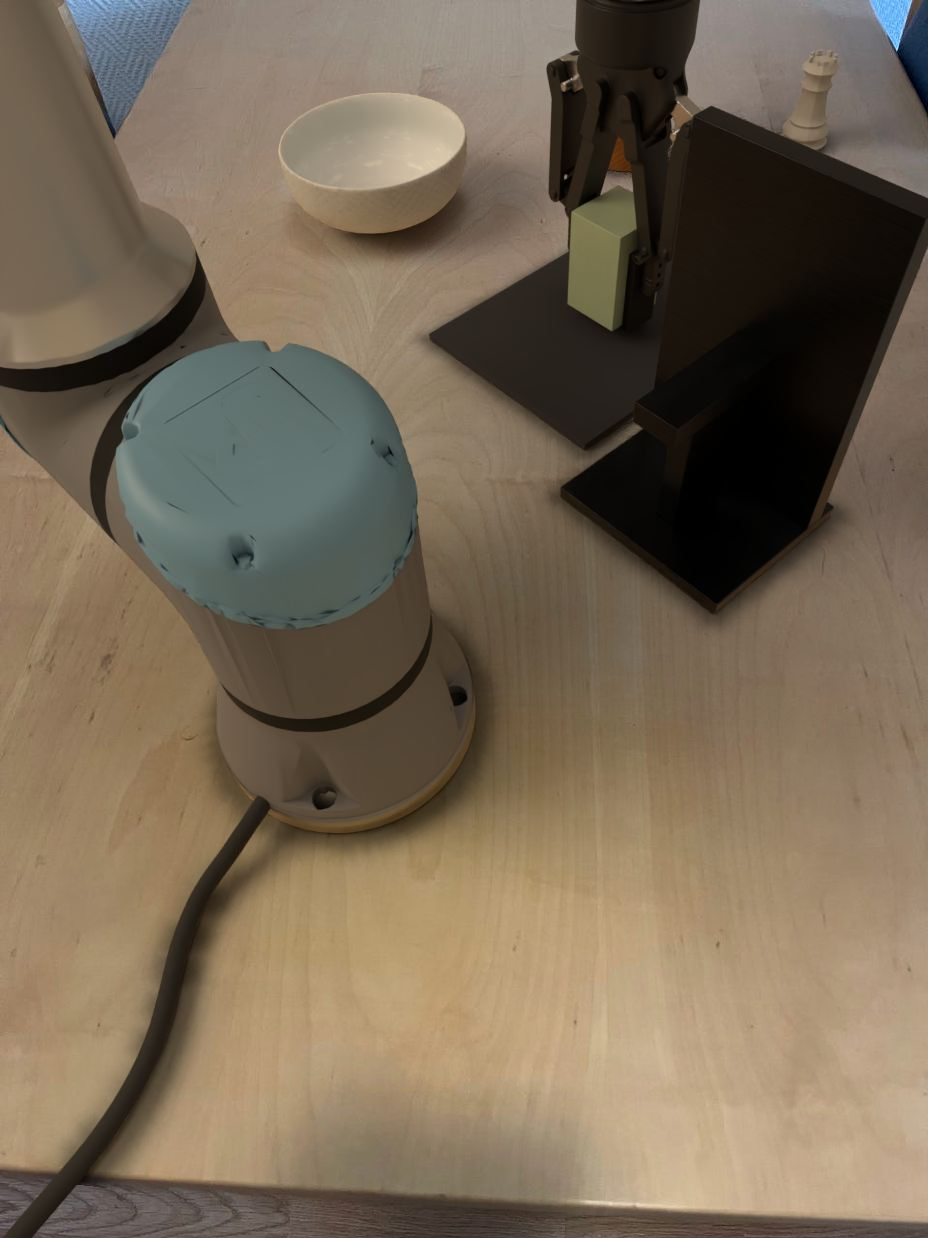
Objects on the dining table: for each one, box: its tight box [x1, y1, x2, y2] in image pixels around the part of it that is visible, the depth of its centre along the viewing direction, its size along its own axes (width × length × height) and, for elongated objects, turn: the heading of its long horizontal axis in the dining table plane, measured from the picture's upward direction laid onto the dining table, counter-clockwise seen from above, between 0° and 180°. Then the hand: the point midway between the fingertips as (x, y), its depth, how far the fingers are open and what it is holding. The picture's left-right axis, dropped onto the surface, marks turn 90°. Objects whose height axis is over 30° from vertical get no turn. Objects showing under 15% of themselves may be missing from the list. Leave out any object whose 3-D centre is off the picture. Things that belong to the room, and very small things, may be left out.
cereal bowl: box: [277, 92, 468, 235], centre depth 83 cm, size 17×17×7 cm
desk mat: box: [428, 251, 672, 451], centre depth 74 cm, size 24×18×1 cm
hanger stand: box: [559, 105, 928, 615], centre depth 53 cm, size 12×14×23 cm
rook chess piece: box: [780, 48, 840, 151], centre depth 85 cm, size 4×4×8 cm
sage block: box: [568, 185, 657, 331], centre depth 70 cm, size 5×5×8 cm
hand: (610, 306), depth 73 cm, fingers open, 5 cm apart
